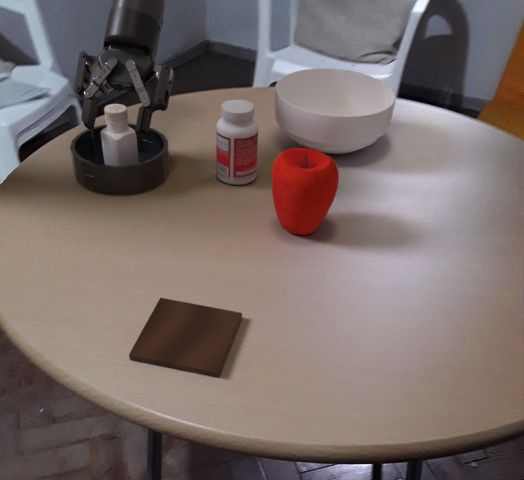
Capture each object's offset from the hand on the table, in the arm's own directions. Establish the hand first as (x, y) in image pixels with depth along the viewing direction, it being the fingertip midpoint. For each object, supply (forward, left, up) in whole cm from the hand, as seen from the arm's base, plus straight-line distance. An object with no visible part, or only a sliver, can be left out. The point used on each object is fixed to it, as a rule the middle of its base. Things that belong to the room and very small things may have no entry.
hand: (113, 131), depth 91 cm
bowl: (+29, +23, -7) cm, 37 cm away
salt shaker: (0, +2, -7) cm, 7 cm away
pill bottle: (+17, +6, -7) cm, 19 cm away
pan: (0, +2, -7) cm, 7 cm away
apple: (+29, -5, -7) cm, 30 cm away
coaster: (+21, -31, -7) cm, 39 cm away
